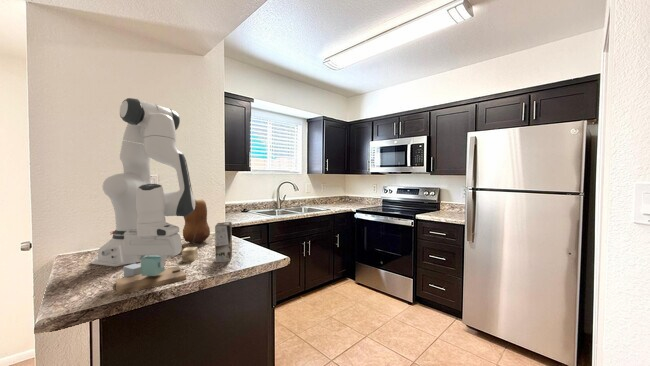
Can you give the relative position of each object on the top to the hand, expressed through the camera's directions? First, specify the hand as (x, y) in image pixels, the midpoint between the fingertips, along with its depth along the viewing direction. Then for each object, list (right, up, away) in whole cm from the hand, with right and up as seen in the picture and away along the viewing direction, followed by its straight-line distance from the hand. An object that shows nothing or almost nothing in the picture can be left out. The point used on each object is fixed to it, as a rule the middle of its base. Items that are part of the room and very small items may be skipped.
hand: (153, 266), depth 96 cm
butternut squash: (-9, -3, +51) cm, 51 cm away
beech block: (+1, -4, +24) cm, 24 cm away
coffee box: (+16, -4, +25) cm, 30 cm away
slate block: (-10, -5, +5) cm, 12 cm away
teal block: (0, -2, 0) cm, 2 cm away
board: (0, -5, 0) cm, 5 cm away
